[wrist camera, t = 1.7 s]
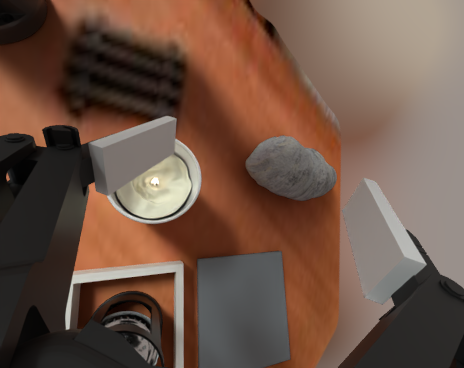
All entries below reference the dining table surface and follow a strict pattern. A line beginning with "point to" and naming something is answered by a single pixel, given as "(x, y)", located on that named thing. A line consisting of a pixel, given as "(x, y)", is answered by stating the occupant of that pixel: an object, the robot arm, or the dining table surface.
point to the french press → (135, 324)
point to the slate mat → (242, 311)
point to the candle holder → (161, 189)
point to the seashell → (290, 169)
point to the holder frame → (134, 271)
